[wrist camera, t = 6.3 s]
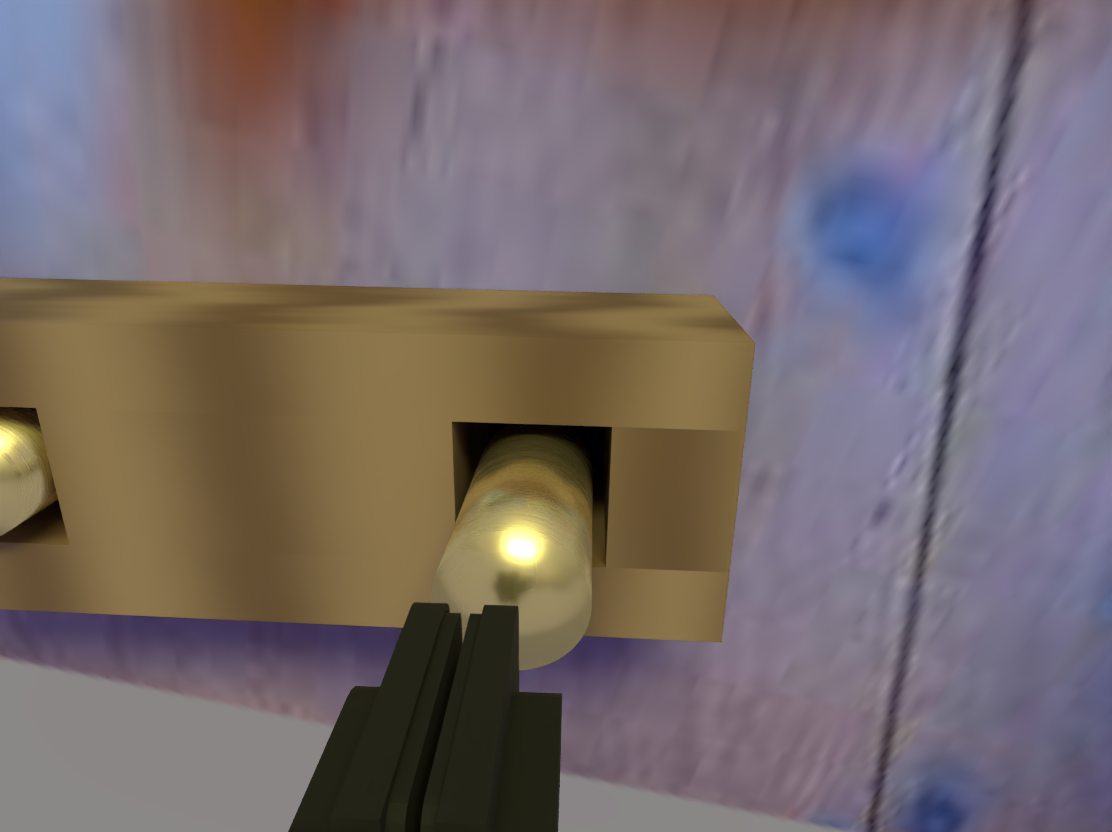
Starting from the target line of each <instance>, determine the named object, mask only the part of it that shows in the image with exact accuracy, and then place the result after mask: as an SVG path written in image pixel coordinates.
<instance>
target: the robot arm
mask: <svg viewBox="0 0 1112 832" xmlns="http://www.w3.org/2000/svg"><path fill="white" fill-rule="evenodd" d="M561 716H562V694H556V693H529V692H519V608H518V606H512V605H484V607H483V610H482V614H474V613H471V614H470V616H469V620H468V624H467V628H466V632H465V636H464V640H463V642H462V617H461V614H460V613H450V608H449V605H448V603H423V602H414V603H413V604H412V606H411V608H410V611H409V613H408V616H407V618H406V621H405V624H404V626H403V629H402V631H401V634H400V637H399V639H398V642H397V644H396V647H395V650H394V652H393V655H392V657H391V660H390V663H389V665H388V668H387V670H386V673H385V676H384V678H383V681H382V684H381V686H380V687H365V686H355V687H354V688H353V689H352V690H351V691H350V693H349V695H348V697H347V699H346V701H345V703H344V706H343V708H342V710H341V713H340V715H339V717H338V719H337V722H336V724H335V726H334V729H333V731H332V733H331V736H330V738H329V740H328V742H327V745H326V747H325V749H324V752H323V754H322V756H321V758H320V761H319V763H318V765H317V768H316V770H315V772H314V774H313V777H312V779H311V781H310V783H309V786H308V788H307V790H306V793H305V795H304V797H303V799H302V802H301V804H300V806H299V808H298V811H297V813H296V815H295V818H294V820H293V822H292V824H291V827H290V829H289V831H288V832H558V817H559V787H560V755H561Z"/></svg>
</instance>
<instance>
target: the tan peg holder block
mask: <svg viewBox="0 0 1112 832" xmlns="http://www.w3.org/2000/svg"><path fill="white" fill-rule="evenodd" d="M754 352H755V342H754V341H753V340H752V339H751V338H750V337H749V335H748V334H747V333H746V332H745V331H744V330H743V329H742V327H741V326H740V325H739V324H738V323H737V322H736V321H735V319H734V318H733V317H732V316H731V315H730V314H729V313H728V312H727V310H726V309H725V308H724V307H723V306H722V305H721V304H720V302H719V301H718V300H717V299H716V298H715V297H714V296H712V295H672V294H632V293H592V292H552V291H512V290H472V289H432V288H391V287H351V286H311V285H271V284H231V283H191V282H151V281H111V280H71V279H31V278H0V407H27V408H36V410H37V414H38V418H39V422H40V426H41V430H42V435H43V439H44V443H45V447H46V451H47V455H48V459H49V463H50V467H51V471H52V476H53V480H54V484H55V488H56V492H57V496H58V500H57V501H56V502H54V503H52V504H51V505H49V506H48V507H46V508H44V509H43V510H41V511H40V512H38V513H37V514H35V515H33V516H32V517H30V518H29V519H27V520H25V521H24V522H22V523H21V524H19V525H18V526H16V527H14V528H13V529H11V530H10V531H8V532H6V533H5V534H3V535H1V536H0V609H4V610H26V611H48V612H69V613H91V614H113V615H135V616H157V617H179V618H201V619H223V620H245V621H267V622H289V623H310V624H332V625H354V626H376V627H398V628H403V626H404V624H405V621H406V618H407V616H408V613H409V611H410V608H411V606H412V604H413V603H414V602H423V603H431V590H432V584H433V581H434V578H435V575H436V572H437V570H438V567H439V564H440V562H441V559H442V557H443V554H444V551H445V549H446V546H447V544H448V541H449V538H450V536H451V533H452V531H453V528H454V525H455V523H456V520H457V518H458V515H459V513H460V510H461V507H462V505H463V502H464V500H465V497H466V494H467V492H468V489H469V487H470V484H471V481H472V479H473V476H474V474H475V471H476V468H477V466H478V463H479V461H480V458H481V455H482V453H483V450H484V448H485V446H486V444H487V443H488V441H489V423H512V424H542V425H572V426H603V427H605V441H604V465H603V470H593V501H592V610H591V617H590V621H589V624H588V627H587V629H586V631H585V634H584V635H583V636H595V637H617V638H639V639H661V640H683V641H705V642H722V634H723V625H724V617H725V608H726V599H727V590H728V581H729V572H730V564H731V555H732V546H733V537H734V528H735V519H736V511H737V502H738V493H739V484H740V475H741V466H742V458H743V449H744V440H745V431H746V422H747V413H748V405H749V396H750V387H751V378H752V369H753V360H754Z"/></svg>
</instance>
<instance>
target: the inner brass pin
mask: <svg viewBox="0 0 1112 832" xmlns="http://www.w3.org/2000/svg"><path fill="white" fill-rule="evenodd" d="M592 501H593V468H592V462H591V458H590V455H589V452H588V450H587V448H586V447H585V445H584V444H583V442H582V441H581V440H580V438H579V437H578V436H577V435H576V434H575V433H573V432H572V431H571V430H569V429H568V428H566V427H565V426H563V425H542V424H512V423H511V424H508V425H506V426H505V427H503V428H501V429H500V430H499V431H498V432H496V433H495V434H494V435H493V436H492V437H491V439H490V440H489V441H488V443H487V444H486V446H485V448H484V450H483V453H482V455H481V458H480V461H479V463H478V466H477V468H476V471H475V474H474V476H473V479H472V481H471V484H470V487H469V489H468V492H467V494H466V497H465V500H464V502H463V505H462V507H461V510H460V513H459V515H458V518H457V520H456V523H455V525H454V528H453V531H452V533H451V536H450V538H449V541H448V544H447V546H446V549H445V551H444V554H443V557H442V559H441V562H440V564H439V567H438V570H437V572H436V575H435V578H434V581H433V584H432V590H431V603H448V605H449V608H450V613H460V614H461V617H462V642H463V640H464V636H465V632H466V628H467V624H468V620H469V616H470V614H471V613H474V614H482V610H483V607H484V605H512V606H518V608H519V670H529V669H534V668H539V667H542V666H545V665H548V664H551V663H553V662H555V661H557V660H559V659H560V658H562V657H563V656H565V655H566V654H567V653H569V652H570V651H571V650H572V649H573V648H574V647H575V646H576V645H577V644H578V642H579V641H580V640H581V638H582V637H583V635H584V634H585V631H586V629H587V627H588V624H589V621H590V617H591V610H592Z"/></svg>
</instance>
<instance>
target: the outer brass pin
mask: <svg viewBox="0 0 1112 832" xmlns="http://www.w3.org/2000/svg"><path fill="white" fill-rule="evenodd" d="M57 500H58V496H57V492H56V488H55V484H54V480H53V476H52V471H51V467H50V463H49V459H48V455H47V451H46V447H45V443H44V439H43V435H42V430H41V426H40V422H39V418H38V414H37V410H36V408H27V407H0V536H1V535H3V534H5V533H6V532H8V531H10V530H11V529H13V528H14V527H16V526H18V525H19V524H21V523H22V522H24V521H25V520H27V519H29V518H30V517H32V516H33V515H35V514H37V513H38V512H40V511H41V510H43V509H44V508H46V507H48V506H49V505H51V504H52V503H54V502H56V501H57Z"/></svg>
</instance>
